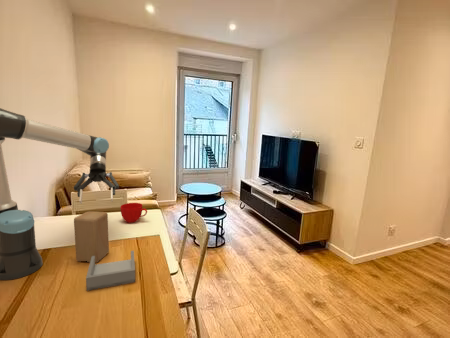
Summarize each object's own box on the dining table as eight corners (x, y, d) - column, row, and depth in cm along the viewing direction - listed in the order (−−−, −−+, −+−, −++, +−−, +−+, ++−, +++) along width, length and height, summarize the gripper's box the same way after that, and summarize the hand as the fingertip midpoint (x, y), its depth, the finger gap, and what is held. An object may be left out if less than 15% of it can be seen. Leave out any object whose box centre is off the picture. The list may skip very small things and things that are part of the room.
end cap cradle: (86, 290, 89) (86, 278, 89) (92, 267, 104) (91, 256, 104) (135, 282, 95) (135, 270, 95) (133, 261, 110) (133, 250, 110)
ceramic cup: (141, 226, 150) (141, 210, 148) (116, 223, 153) (115, 207, 151) (152, 219, 162) (151, 204, 161) (128, 216, 165) (128, 202, 164)
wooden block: (109, 252, 117) (108, 211, 114) (97, 263, 107) (95, 219, 104) (89, 251, 118) (87, 210, 115) (75, 261, 108) (72, 217, 105)
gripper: (123, 169, 140) (124, 203, 129) (72, 171, 131) (68, 206, 120) (123, 161, 135) (124, 195, 123) (69, 162, 125) (65, 199, 114)
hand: (96, 201), depth 121 cm, fingers open, 13 cm apart
